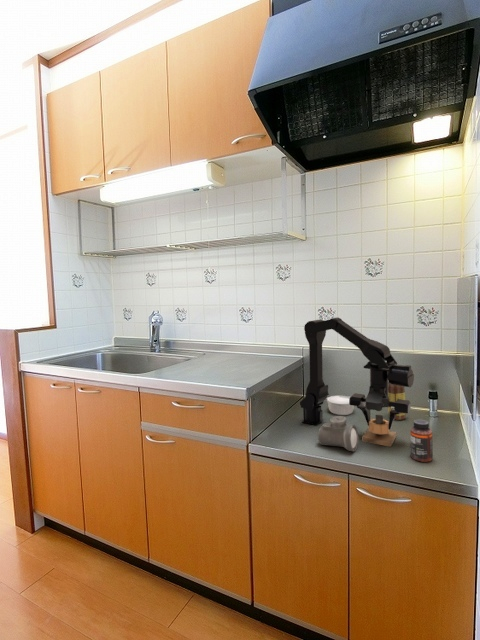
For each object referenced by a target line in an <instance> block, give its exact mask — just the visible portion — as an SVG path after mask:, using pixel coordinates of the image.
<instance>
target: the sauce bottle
mask: <svg viewBox="0 0 480 640" xmlns="http://www.w3.org/2000/svg"><path fill="white" fill-rule="evenodd" d="M388 384H389V387H388V396H389V401H393V402H396V401H397V399H402V400H406V390H405V387H404V386H398V385H392V384H391V383H389V381H388ZM387 409H388V410H387V411H388V417H389V418H390V413H389V412H390V411H391V407H387ZM406 414H407V413H400V414H396V416H395V419H394V421H395V420H397V421H402V420H405V419H406Z"/></svg>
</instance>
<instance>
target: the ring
mask: <svg viewBox="0 0 480 640" xmlns="http://www.w3.org/2000/svg"><path fill="white" fill-rule="evenodd" d="M368 429H369V430H370V431H371V432H372V433H375V434H381V435H382V434H388V433H389V432H390V431H391V429H390V430H389V420H387V419H384V418H383V424H381V425H380V424H376V418H370V421H369V426H368Z"/></svg>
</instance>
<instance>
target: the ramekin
mask: <svg viewBox="0 0 480 640" xmlns="http://www.w3.org/2000/svg"><path fill="white" fill-rule="evenodd" d="M350 397H351V396H346V395H331V396H328V397H327V399H326V402H327V405H328V410H329V411H330V412H331V413H332V414H334V415H335V416H349V415H351V414H352V413H354V409H355V406H353V405H350V404H349V399H350Z"/></svg>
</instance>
